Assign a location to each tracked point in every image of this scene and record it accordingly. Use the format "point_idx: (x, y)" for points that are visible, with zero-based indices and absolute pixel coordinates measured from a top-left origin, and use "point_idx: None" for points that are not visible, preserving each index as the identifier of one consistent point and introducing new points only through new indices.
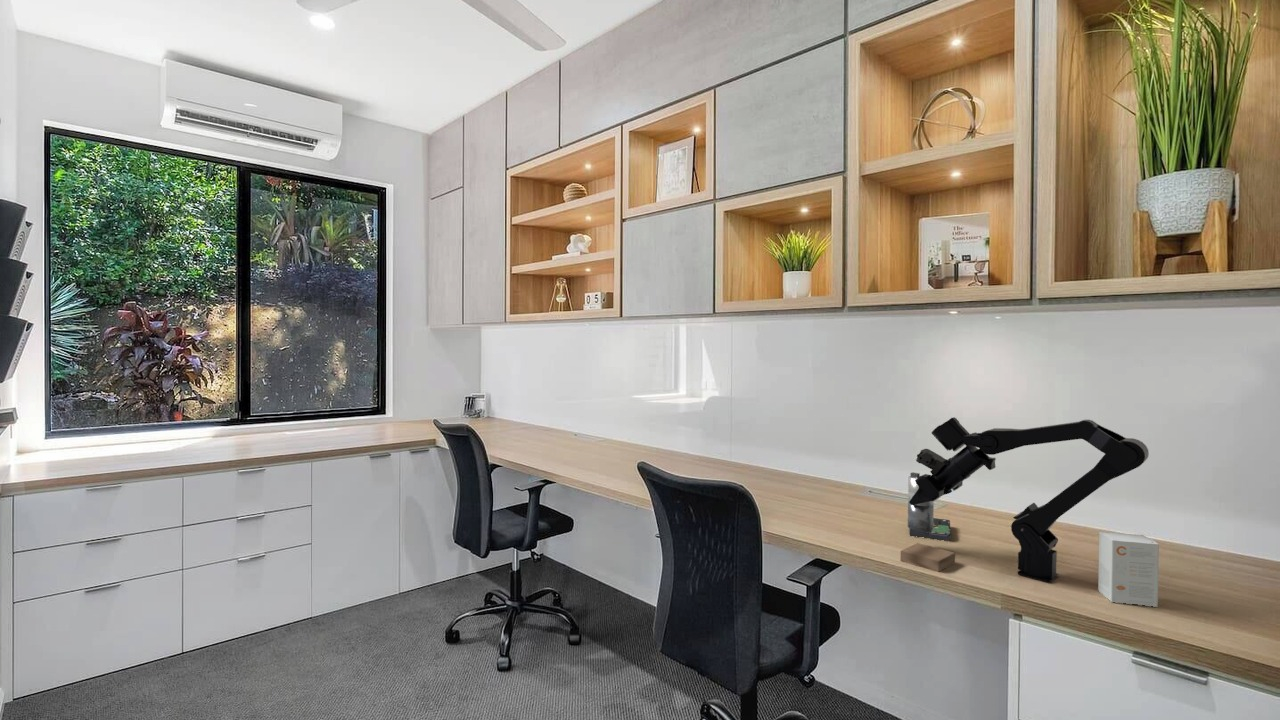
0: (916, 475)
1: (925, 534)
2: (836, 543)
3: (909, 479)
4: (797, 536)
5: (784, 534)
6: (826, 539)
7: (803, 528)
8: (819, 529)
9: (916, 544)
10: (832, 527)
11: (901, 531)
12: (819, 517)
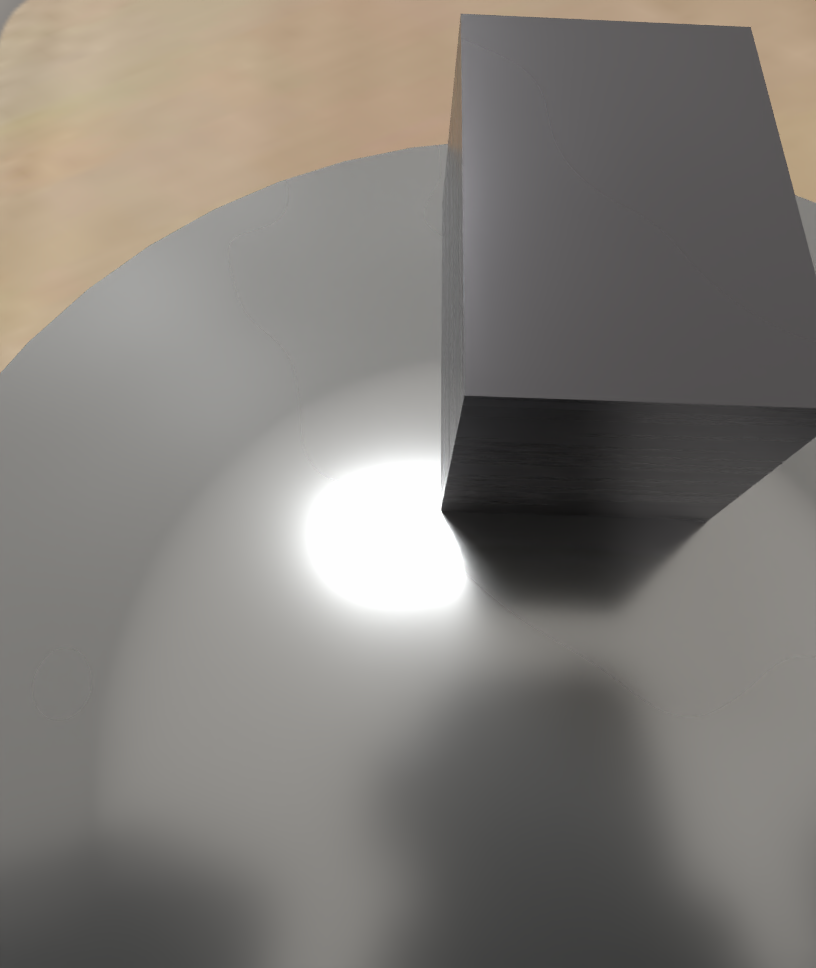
0: (445, 396)
1: None
2: (43, 299)
3: (150, 315)
4: (21, 107)
5: (8, 53)
6: (84, 227)
7: (206, 63)
8: (260, 120)
9: None
10: (366, 147)
11: None
12: None
